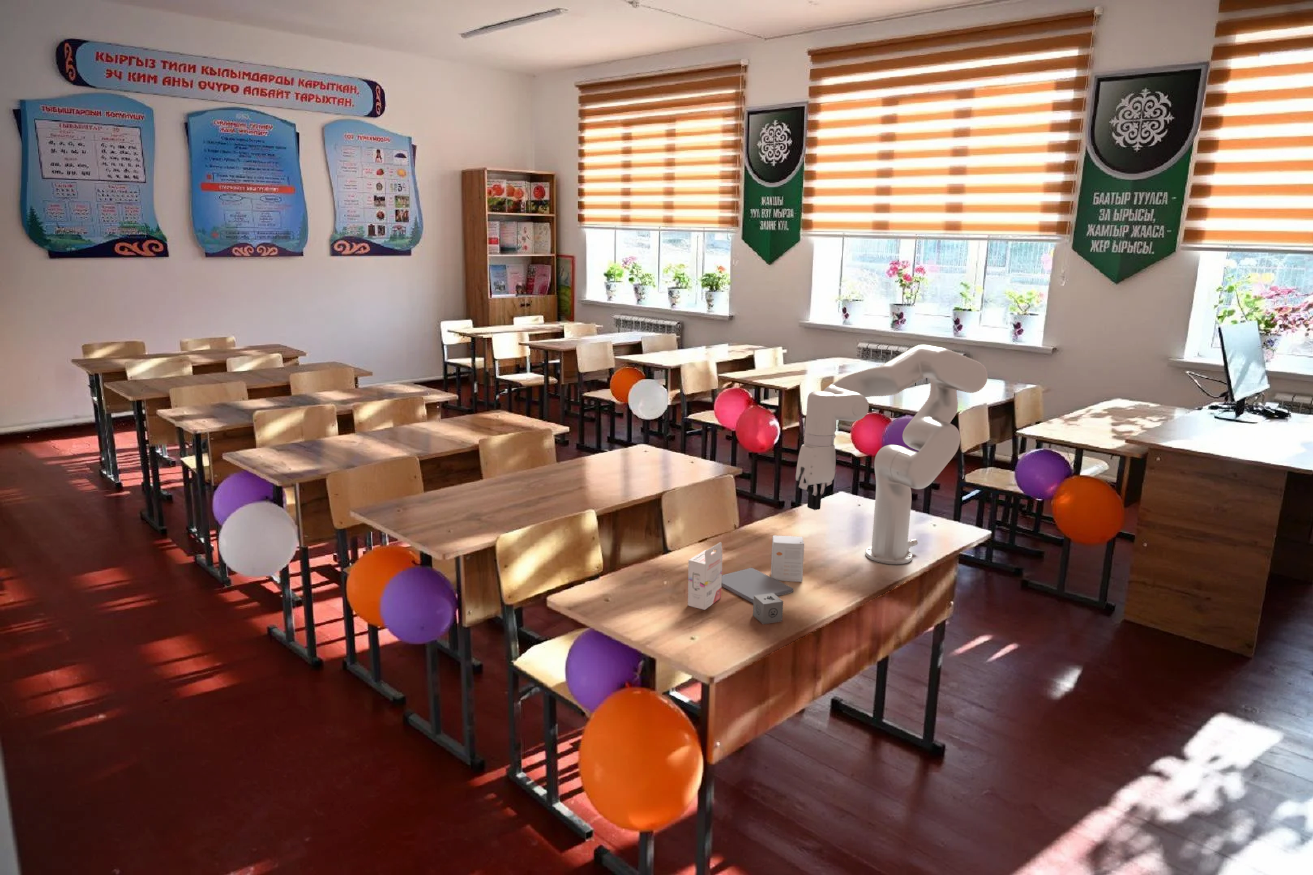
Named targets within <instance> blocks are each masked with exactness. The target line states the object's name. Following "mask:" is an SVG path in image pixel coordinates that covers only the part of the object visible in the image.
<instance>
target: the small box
mask: <svg viewBox="0 0 1313 875" xmlns="http://www.w3.org/2000/svg"><path fill="white" fill-rule="evenodd" d="M771 539H772V543H771V562H770V577H772V578H774V579H776V580H778V581H780V582H796V583H797V582H800V583H801V582H803V578H804V577H803V576H804V572H803V571H804V554H805V542H804V536H795V535H772V538H771Z"/></svg>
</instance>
